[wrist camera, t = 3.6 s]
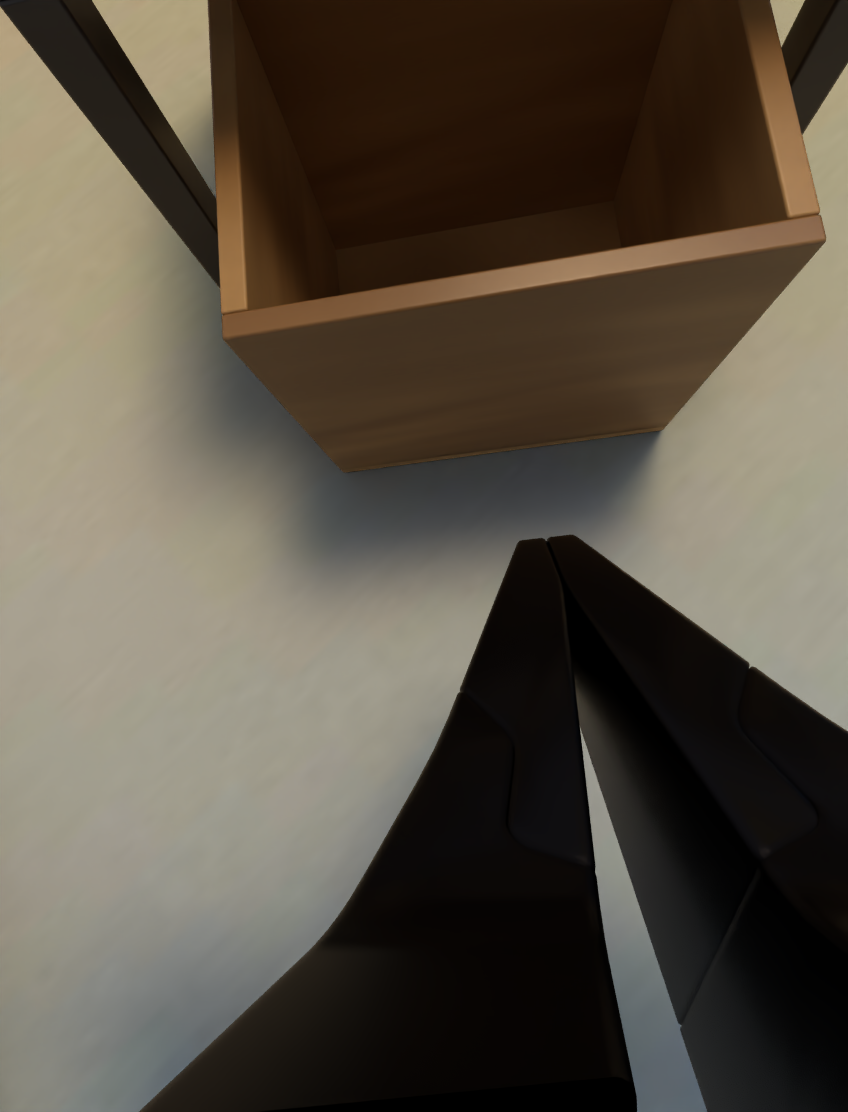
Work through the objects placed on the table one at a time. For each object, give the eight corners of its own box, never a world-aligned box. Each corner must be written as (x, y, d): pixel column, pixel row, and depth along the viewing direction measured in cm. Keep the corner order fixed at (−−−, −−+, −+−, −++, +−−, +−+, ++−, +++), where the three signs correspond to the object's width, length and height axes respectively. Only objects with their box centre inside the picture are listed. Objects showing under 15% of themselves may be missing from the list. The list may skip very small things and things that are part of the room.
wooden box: (663, 430, 16) (829, 240, 8) (342, 473, 17) (220, 339, 9) (622, 199, 17) (733, -159, 10) (326, 251, 18) (205, -33, 11)
